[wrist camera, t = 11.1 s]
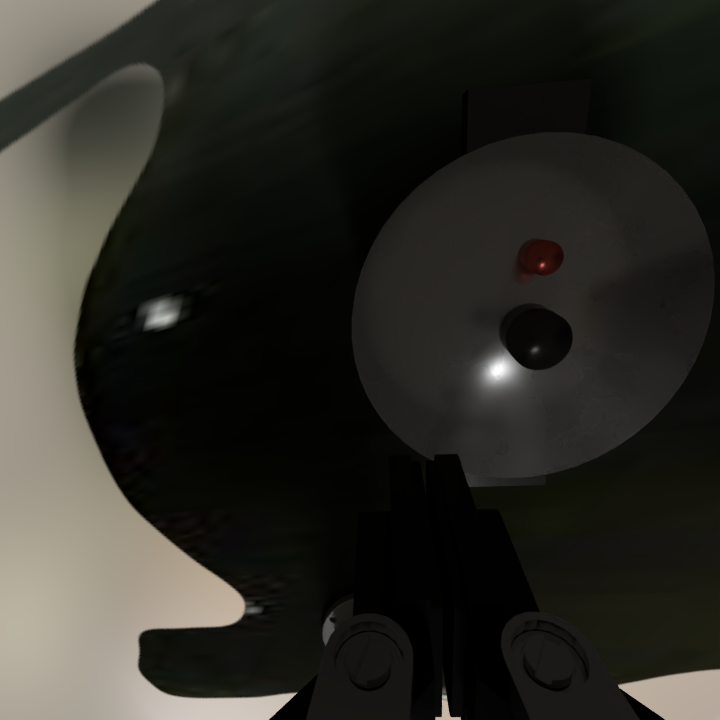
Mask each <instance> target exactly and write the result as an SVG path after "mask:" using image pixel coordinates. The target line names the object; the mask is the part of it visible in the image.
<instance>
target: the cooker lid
mask: <svg viewBox="0 0 720 720" xmlns="http://www.w3.org/2000/svg"><path fill="white" fill-rule="evenodd" d="M714 278H715V275H714V266H713V257H712V251H711V247H710V243H709V240H708V236H707V233H706V229H705V227H704V225H703V223H702V220H701V218H700V216H699V214H698V212H697V210H696V208H695V206H694V205H693V203H692V202H691V200H690V199H689V197H688V196H687V194H686V193H685V191H684V190H683V188H682V187H681V186H680V185H679V184H678V183H677V182H676V181H675V180H674V179H673V178H672V177H671V176H670V175H669V174H668V173H667V172H666V171H665V170H664V169H663V168H661V167H660V166H659V165H657V164H656V163H654V162H653V161H652V160H650V159H649V158H648V157H646V156H645V155H643V154H641V153H639V152H637V151H635V150H633V149H631V148H629V147H627V146H625V145H623V144H620V143H617V142H614V141H611V140H608V139H604V138H601V137H598V136H592V135H585V134H579V133H572V132H543V133H536V134H529V135H522V136H516V137H512V138H509V139H505V140H502V141H498V142H495V143H491V144H488V145H486V146H484V147H481V148H479V149H477V150H475V151H472V152H470V153H468V154H465V155H463V156H461V157H459V158H458V159H456V160H454V161H453V162H451V163H449V164H448V165H446V166H444V167H443V168H441V169H439V170H438V171H436V172H435V173H434V174H432V175H431V176H430V177H429V178H427V179H426V180H425V181H423V182H422V183H421V184H420V185H418V186H417V187H416V188H415V189H414V190H413V191H412V192H411V193H410V194H409V195H408V196H407V197H406V198H405V199H404V200H403V201H402V202H401V203H400V204H399V205H398V206H397V208H396V209H395V210H394V212H393V213H392V214H391V216H390V217H389V218H388V220H387V221H386V222H385V223H384V225H383V226H382V228H381V230H380V231H379V233H378V235H377V237H376V238H375V240H374V242H373V244H372V245H371V247H370V250H369V252H368V254H367V257H366V259H365V262H364V264H363V266H362V269H361V273H360V276H359V280H358V284H357V287H356V291H355V298H354V305H353V312H352V344H353V351H354V358H355V363H356V366H357V370H358V373H359V377H360V380H361V383H362V385H363V387H364V389H365V392H366V394H367V396H368V398H369V400H370V402H371V403H372V405H373V407H374V408H375V410H376V411H377V413H378V415H379V416H380V417H381V418H382V420H383V421H384V422H385V423H386V424H387V426H388V427H389V428H390V429H391V430H392V431H393V432H394V433H395V434H396V435H397V436H398V437H399V438H400V439H401V440H402V441H403V442H405V443H406V444H407V445H409V446H410V447H411V448H413V449H414V450H416V451H417V452H419V453H420V454H421V455H423V456H425V457H427V458H429V459H431V460H433V461H434V456H435V454H458V456H459V458H460V461H461V465H462V468H463V471H464V472H465V473H469V474H473V475H479V476H487V477H494V478H521V477H533V476H539V475H545V474H550V473H555V472H559V471H562V470H565V469H569V468H572V467H575V466H578V465H580V464H583V463H585V462H587V461H590V460H592V459H595V458H597V457H599V456H601V455H602V454H604V453H606V452H608V451H610V450H612V449H613V448H615V447H617V446H618V445H620V444H621V443H623V442H624V441H626V440H627V439H629V438H630V437H632V436H633V435H634V434H636V433H637V432H638V431H639V430H640V429H642V428H643V427H644V426H645V425H646V424H647V423H649V422H650V421H651V420H652V419H653V418H654V417H655V416H656V415H657V414H658V413H659V412H660V411H661V410H662V409H663V408H664V406H665V405H666V404H667V403H668V402H669V401H670V399H671V398H672V397H673V395H674V394H675V393H676V392H677V390H678V389H679V388H680V386H681V385H682V383H683V382H684V380H685V378H686V377H687V375H688V373H689V372H690V370H691V368H692V367H693V365H694V363H695V361H696V358H697V356H698V354H699V352H700V350H701V347H702V345H703V342H704V339H705V336H706V333H707V330H708V326H709V323H710V318H711V312H712V307H713V301H714Z"/></svg>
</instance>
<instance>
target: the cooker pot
mask: <svg viewBox="0 0 720 720" xmlns="http://www.w3.org/2000/svg"><path fill="white" fill-rule="evenodd" d="M591 83H592V79H583V80H570V81H557V82H544V83H531V84H518V85H505V86H492V87H479V88H468V89H467V91H466V92H465V93H464V94H463V96H462V127H461V156H463V155H465V154H468V153H470V152H472V151H475V150H477V149H479V148H481V147H484V146H486V145H488V144H491V143H495V142H498V141H502V140H505V139H509V138H512V137H516V136H522V135H529V134H536V133H543V132H572V133H579V134H585V135H586V126H587V117H588V109H589V100H590V91H591ZM387 220H388V219H387ZM464 474H465V477H466V480H467V483H468V486H469V487H480V486H519V485H545V483H546V474H545V475H539V476H533V477H521V478H494V477H487V476H479V475H473V474H469V473H465V472H464Z"/></svg>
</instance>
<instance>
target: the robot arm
mask: <svg viewBox="0 0 720 720" xmlns="http://www.w3.org/2000/svg"><path fill="white" fill-rule="evenodd" d="M389 476H390V500H391V511H388V512H359V516H358V532H357V550H356V567H355V584H354V593H350V594H348V595H346V596H344V597H342V598H340V599H339V600H337V601H336V602H335V603H334V604H333V605H332V606H331V607H330V608H329V609H328V611H327V613H326V614H325V617H324V620H323V627H322V638H323V641H324V644H325V646H326V647H325V650H324V654H323V658H322V661H321V665H320V669H319V673H318V674H317V675H316V676H315V677H314V678H313V679H312V680H311V681H310V682H309V683H308V684H307V685H306V686H305V687H303V688H302V689H301V690H300V691H299V692H298V693H297V694H296V695H295V696H294V697H293V698H292V699H291V700H290V701H289V702H288V703H286V704H285V705H284V706H283V707H282V708H281V709H280V710H279V711H278V712H277V713H276V714H275V715H274V716H273V717H272V718H270V719H269V720H435V717H441V716H442V665H443V672H444V679H445V686H446V693H447V700H448V707H449V712H450V716H451V717H461V720H664V719H663V718H662V717H661V716H659V715H658V714H656V713H655V712H653V711H652V710H650V709H649V708H647V707H646V706H645V705H643V704H642V703H640V702H639V701H637V700H636V699H634V698H633V697H631V696H630V695H628V694H627V693H626V692H624V691H623V690H621V689H619V687H618V685H617V684H616V682H615V681H614V679H613V678H612V676H611V674H610V673H609V671H608V670H607V668H606V667H605V665H604V664H603V662H602V661H601V659H600V657H599V656H598V654H597V653H596V651H595V650H594V648H593V647H592V645H591V644H590V643H589V642H588V640H587V639H586V638H585V637H584V636H583V634H582V633H581V632H579V631H578V630H577V629H576V628H574V627H573V626H572V625H571V624H569V623H568V622H566V621H564V620H562V619H560V618H558V617H556V616H554V615H550V614H546V613H542V612H540V611H539V609H538V606H537V604H536V601H535V599H534V596H533V594H532V591H531V589H530V586H529V584H528V581H527V579H526V577H525V574H524V572H523V569H522V567H521V564H520V562H519V559H518V557H517V554H516V552H515V549H514V547H513V544H512V542H511V539H510V537H509V534H508V532H507V529H506V527H505V524H504V522H503V519H502V517H501V515H500V513H499V511H498V510H497V509H476V507H475V504H474V501H473V498H472V495H471V492H470V489H469V486H468V483H467V480H466V477H465V474H464V471H463V468H462V465H461V461H460V458H459V456H458V454H435V456H434V461H426V494H425V488H424V482H423V477H422V471H421V465H420V461H411V455H400V456H389Z"/></svg>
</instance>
